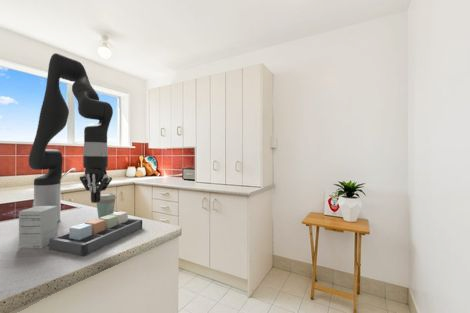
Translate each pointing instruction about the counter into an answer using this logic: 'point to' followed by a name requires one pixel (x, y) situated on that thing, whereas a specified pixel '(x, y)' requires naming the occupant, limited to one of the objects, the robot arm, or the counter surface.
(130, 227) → the grey compartment tray
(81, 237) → the pale blue cube
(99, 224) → the orange cube
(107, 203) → the coffee cup
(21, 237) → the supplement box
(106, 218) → the pale green cube
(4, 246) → the counter surface
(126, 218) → the cream cube
